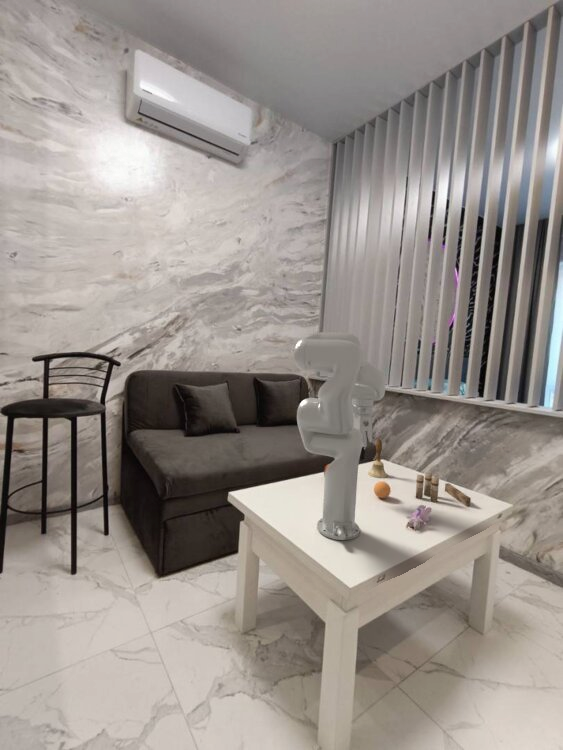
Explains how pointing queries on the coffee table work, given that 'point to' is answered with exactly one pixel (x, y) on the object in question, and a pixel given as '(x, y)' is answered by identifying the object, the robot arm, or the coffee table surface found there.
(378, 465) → the hand bell
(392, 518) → the coffee table surface
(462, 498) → the bar
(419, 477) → the front pin
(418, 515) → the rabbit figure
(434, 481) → the pin
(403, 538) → the coffee table surface
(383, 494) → the ball
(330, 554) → the coffee table surface
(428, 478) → the pin
